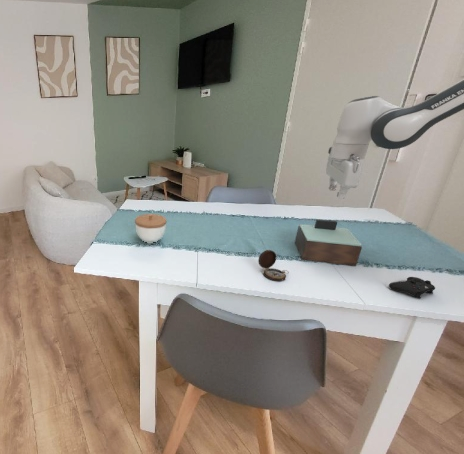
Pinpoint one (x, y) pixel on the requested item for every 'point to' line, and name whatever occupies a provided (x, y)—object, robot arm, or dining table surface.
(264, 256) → the compass
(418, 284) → the gaming controller
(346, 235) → the case lid
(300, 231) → the case
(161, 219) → the lidded bowl
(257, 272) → the dining table surface
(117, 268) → the dining table surface
